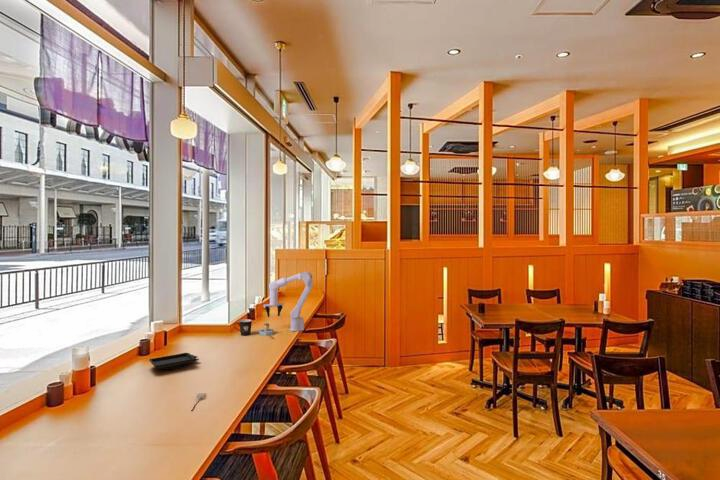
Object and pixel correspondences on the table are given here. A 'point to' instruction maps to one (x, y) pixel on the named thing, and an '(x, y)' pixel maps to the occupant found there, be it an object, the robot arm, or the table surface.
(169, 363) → the tray
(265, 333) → the bead ring
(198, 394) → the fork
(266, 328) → the needle dowel
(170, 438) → the table surface
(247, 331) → the coffee mug
